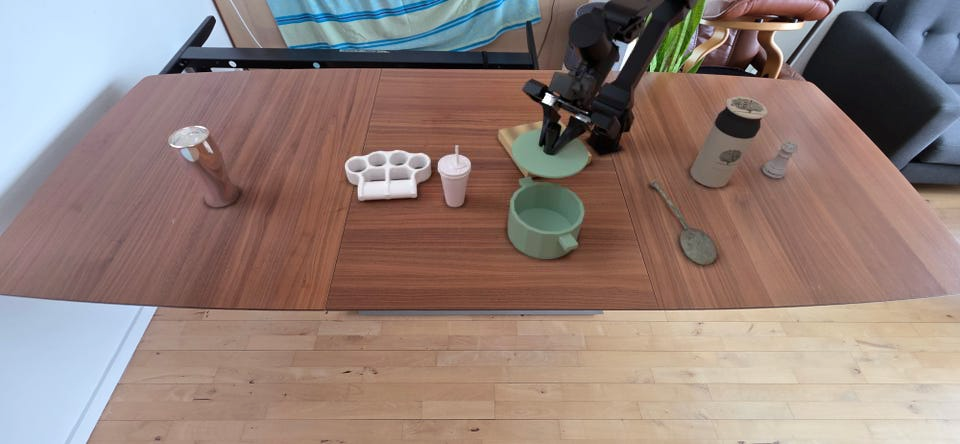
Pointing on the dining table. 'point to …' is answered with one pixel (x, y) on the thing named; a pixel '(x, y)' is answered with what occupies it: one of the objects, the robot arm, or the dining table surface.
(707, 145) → the travel mug
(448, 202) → the smoothie
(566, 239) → the pot
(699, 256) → the soupspoon
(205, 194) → the beer glass
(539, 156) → the lid
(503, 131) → the board
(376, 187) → the knuckle duster
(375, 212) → the dining table surface
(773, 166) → the rook chess piece
